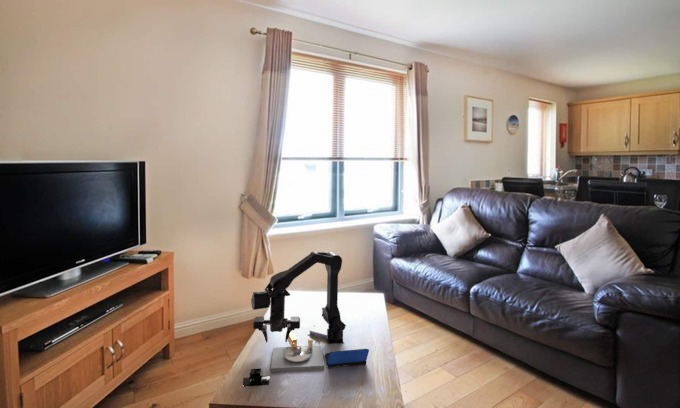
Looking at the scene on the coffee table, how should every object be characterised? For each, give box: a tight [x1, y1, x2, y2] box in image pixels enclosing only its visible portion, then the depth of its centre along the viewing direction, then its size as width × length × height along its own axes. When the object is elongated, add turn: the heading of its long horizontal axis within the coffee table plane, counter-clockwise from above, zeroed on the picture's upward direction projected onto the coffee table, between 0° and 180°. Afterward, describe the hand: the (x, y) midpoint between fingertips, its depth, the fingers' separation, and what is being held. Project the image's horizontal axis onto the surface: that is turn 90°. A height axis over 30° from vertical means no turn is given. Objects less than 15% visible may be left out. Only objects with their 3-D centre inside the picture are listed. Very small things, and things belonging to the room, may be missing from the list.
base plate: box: [270, 338, 325, 373], centre depth 146 cm, size 20×15×6 cm
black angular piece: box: [242, 368, 271, 388], centre depth 132 cm, size 12×7×5 cm, turn 99°
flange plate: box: [284, 331, 311, 363], centre depth 148 cm, size 14×14×5 cm
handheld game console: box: [324, 348, 370, 369], centre depth 144 cm, size 16×13×9 cm
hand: (276, 342), depth 151 cm, fingers open, 7 cm apart
